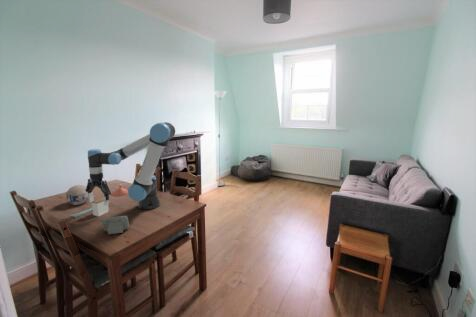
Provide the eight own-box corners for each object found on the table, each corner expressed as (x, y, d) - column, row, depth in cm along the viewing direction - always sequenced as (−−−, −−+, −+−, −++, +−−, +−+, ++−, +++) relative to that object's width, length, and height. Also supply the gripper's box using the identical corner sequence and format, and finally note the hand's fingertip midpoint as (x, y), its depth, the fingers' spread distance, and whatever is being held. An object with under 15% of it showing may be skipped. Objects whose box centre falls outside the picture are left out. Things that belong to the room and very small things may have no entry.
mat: (91, 210, 165) (90, 209, 165) (74, 217, 154) (74, 216, 154) (80, 208, 168) (80, 207, 168) (63, 214, 157) (63, 214, 157)
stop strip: (93, 210, 165) (93, 208, 165) (75, 217, 153) (75, 215, 153) (91, 209, 165) (91, 208, 165) (73, 217, 153) (73, 215, 153)
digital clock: (130, 227, 140) (129, 213, 139) (125, 233, 133) (124, 219, 131) (106, 228, 139) (105, 214, 138) (100, 234, 132) (98, 219, 130)
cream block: (108, 212, 162) (107, 198, 160) (98, 216, 155) (96, 202, 153) (103, 211, 164) (101, 197, 162) (93, 215, 156) (91, 201, 155)
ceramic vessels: (111, 201, 181) (109, 178, 177) (103, 195, 196) (101, 173, 192) (154, 191, 205) (153, 170, 201) (145, 186, 220) (143, 166, 216)
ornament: (71, 202, 180) (69, 183, 177) (93, 199, 185) (91, 181, 182) (64, 209, 166) (61, 189, 163) (88, 207, 171) (85, 187, 168)
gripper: (115, 173, 153) (117, 203, 157) (87, 169, 161) (90, 198, 165) (105, 176, 146) (108, 208, 150) (77, 172, 154) (80, 202, 158)
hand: (99, 203), depth 158 cm, fingers open, 13 cm apart
